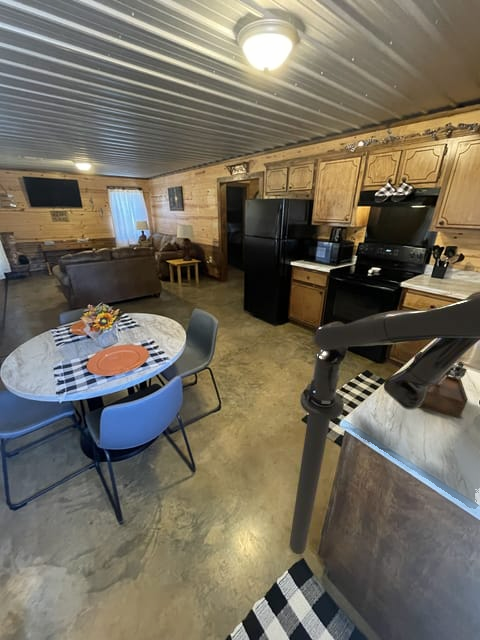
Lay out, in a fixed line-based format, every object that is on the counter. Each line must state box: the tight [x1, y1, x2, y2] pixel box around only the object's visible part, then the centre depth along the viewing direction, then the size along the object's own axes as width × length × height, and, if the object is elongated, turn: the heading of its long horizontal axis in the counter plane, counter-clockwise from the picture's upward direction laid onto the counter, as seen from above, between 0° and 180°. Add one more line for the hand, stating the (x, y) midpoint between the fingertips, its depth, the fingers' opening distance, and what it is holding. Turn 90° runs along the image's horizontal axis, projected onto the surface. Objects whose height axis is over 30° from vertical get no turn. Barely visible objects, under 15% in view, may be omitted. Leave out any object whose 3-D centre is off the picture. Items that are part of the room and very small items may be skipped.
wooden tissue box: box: [419, 375, 469, 419], centre depth 100 cm, size 16×14×8 cm
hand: (446, 359), depth 95 cm, fingers open, 8 cm apart
